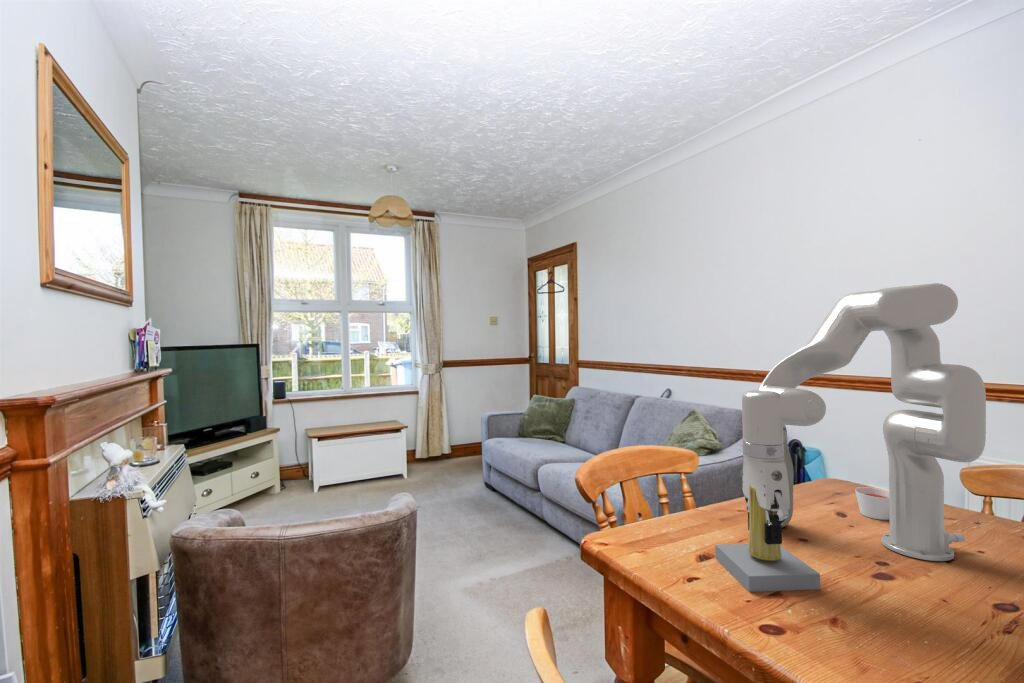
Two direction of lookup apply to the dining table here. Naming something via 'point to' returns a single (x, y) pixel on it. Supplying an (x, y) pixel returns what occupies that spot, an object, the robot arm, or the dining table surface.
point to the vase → (760, 532)
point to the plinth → (767, 570)
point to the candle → (873, 502)
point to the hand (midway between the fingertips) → (764, 536)
